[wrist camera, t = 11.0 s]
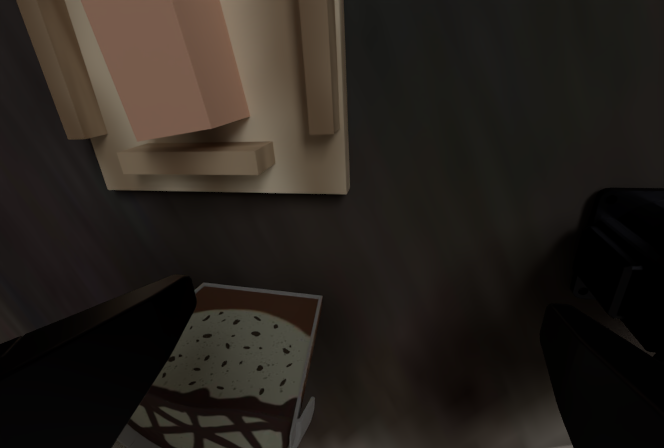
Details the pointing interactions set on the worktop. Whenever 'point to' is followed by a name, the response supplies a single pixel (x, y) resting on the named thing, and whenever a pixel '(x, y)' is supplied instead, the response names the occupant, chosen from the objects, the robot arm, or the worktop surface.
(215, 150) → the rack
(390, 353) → the worktop surface
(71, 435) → the robot arm
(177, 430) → the food container
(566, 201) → the worktop surface
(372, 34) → the worktop surface
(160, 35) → the pinkish brown block
